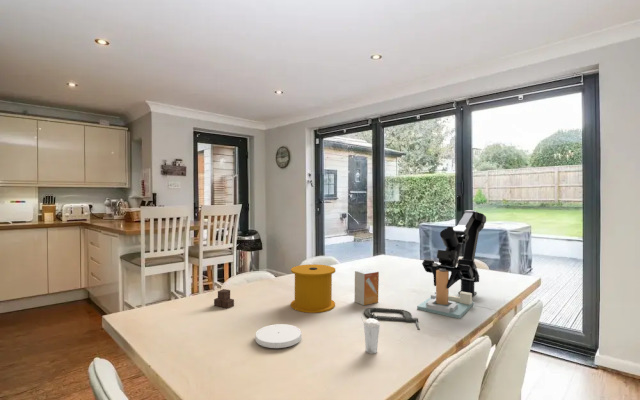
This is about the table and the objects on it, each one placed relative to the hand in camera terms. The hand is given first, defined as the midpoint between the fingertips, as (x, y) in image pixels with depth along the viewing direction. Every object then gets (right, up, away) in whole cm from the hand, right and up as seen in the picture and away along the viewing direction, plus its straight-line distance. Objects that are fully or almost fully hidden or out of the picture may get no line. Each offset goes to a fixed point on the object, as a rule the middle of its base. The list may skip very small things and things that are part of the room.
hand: (440, 286), depth 129 cm
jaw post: (+1, -7, +1) cm, 7 cm away
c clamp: (-21, -10, -7) cm, 25 cm away
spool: (-50, -9, +6) cm, 51 cm away
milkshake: (-33, -10, -34) cm, 48 cm away
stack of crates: (-85, -10, +6) cm, 86 cm away
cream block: (+10, -8, +8) cm, 15 cm away
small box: (-27, -9, +10) cm, 31 cm away
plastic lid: (-60, -10, -27) cm, 66 cm away
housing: (+4, -9, +5) cm, 11 cm away
